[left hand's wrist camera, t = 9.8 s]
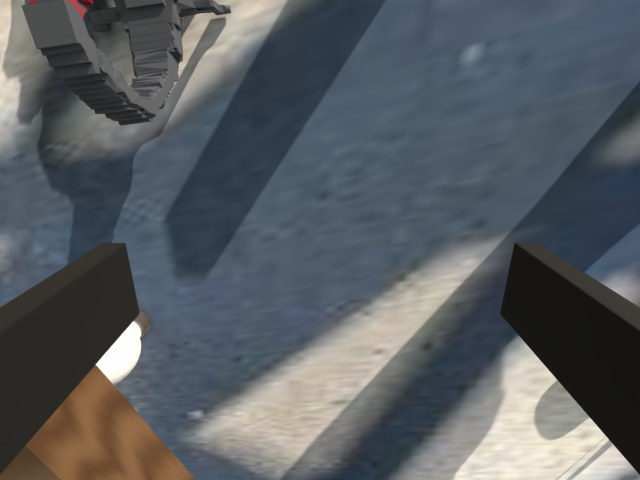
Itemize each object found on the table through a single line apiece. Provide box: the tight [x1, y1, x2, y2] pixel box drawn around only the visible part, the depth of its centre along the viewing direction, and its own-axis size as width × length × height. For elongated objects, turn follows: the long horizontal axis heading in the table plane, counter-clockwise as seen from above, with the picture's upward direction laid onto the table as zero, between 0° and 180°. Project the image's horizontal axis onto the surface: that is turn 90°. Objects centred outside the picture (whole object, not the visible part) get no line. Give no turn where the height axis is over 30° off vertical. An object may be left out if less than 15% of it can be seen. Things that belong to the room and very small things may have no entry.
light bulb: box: [96, 311, 151, 385], centre depth 42 cm, size 7×7×11 cm
